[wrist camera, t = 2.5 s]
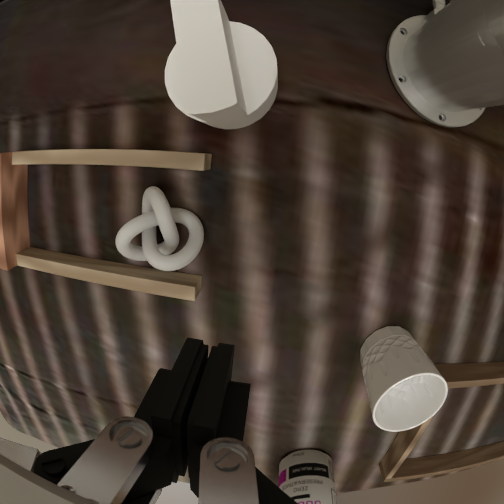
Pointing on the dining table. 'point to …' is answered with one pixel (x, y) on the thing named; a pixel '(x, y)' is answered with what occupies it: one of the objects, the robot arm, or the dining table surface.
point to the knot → (164, 216)
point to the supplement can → (308, 477)
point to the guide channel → (88, 269)
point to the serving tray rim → (395, 458)
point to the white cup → (400, 380)
